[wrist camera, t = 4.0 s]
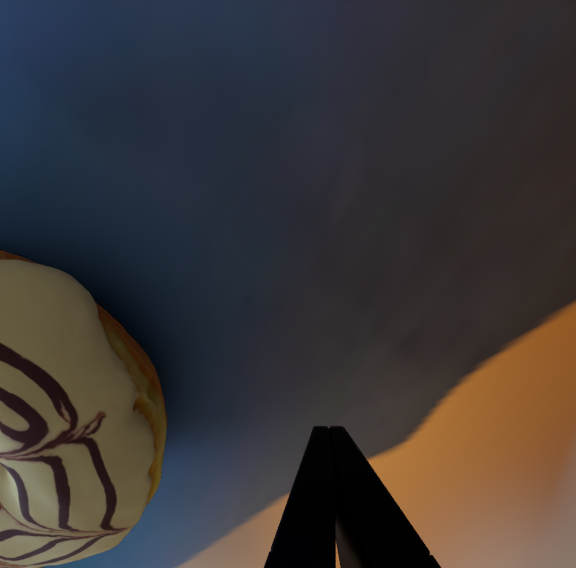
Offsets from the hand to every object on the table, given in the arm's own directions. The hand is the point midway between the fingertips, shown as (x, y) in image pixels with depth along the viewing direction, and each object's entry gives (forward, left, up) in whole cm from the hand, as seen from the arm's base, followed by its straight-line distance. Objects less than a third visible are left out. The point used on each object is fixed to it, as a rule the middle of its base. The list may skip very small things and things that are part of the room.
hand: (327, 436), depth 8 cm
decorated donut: (0, +10, -2) cm, 10 cm away
